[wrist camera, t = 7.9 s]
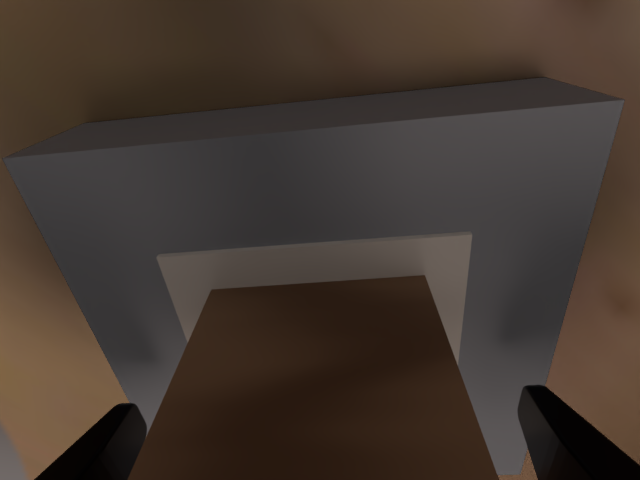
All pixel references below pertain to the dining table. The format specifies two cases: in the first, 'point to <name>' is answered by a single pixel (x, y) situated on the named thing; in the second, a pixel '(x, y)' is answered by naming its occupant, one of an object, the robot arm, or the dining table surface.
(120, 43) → the dining table surface
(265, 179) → the pedestal
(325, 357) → the walnut cube
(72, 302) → the dining table surface
